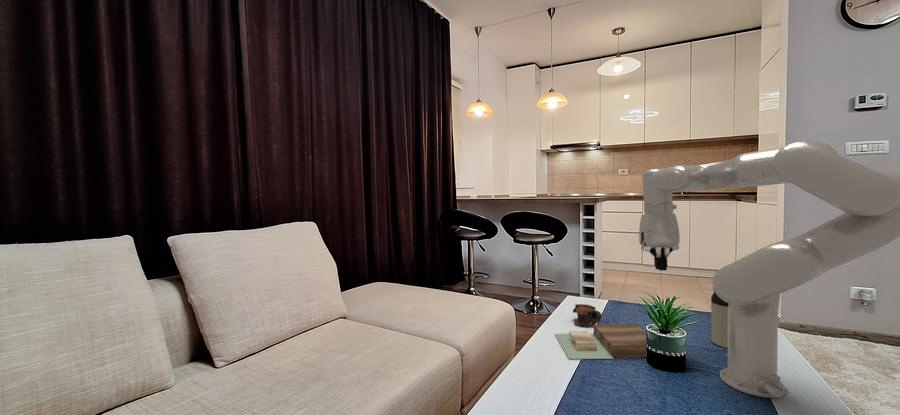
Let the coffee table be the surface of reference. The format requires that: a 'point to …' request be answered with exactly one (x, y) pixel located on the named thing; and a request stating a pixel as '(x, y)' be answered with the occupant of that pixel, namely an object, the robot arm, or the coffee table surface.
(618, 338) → the walnut board
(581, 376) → the coffee table surface
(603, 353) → the rubber mat
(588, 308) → the pottery mug
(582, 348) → the maple tile
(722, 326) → the beige canister
